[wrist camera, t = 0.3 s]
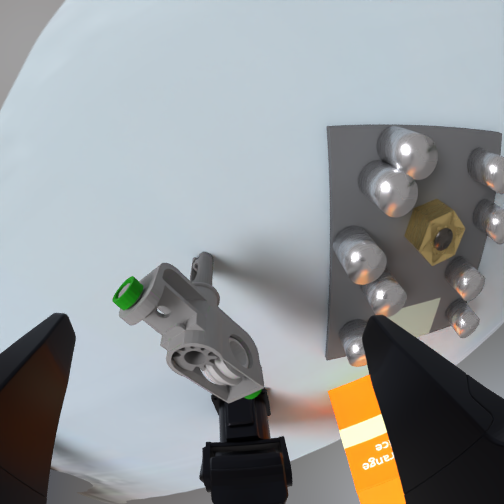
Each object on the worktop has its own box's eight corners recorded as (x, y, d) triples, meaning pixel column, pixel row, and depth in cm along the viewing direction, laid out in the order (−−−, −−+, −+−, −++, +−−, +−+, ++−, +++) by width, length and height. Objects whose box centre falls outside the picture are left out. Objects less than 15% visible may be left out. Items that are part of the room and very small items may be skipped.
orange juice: (327, 390, 34) (366, 535, 17) (391, 364, 33) (450, 500, 16) (337, 413, 38) (370, 533, 21) (393, 390, 37) (439, 505, 20)
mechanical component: (172, 200, 21) (137, 286, 12) (257, 291, 25) (274, 392, 17) (143, 225, 21) (99, 317, 13) (229, 309, 26) (235, 409, 17)
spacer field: (461, 314, 29) (475, 333, 26) (327, 351, 29) (336, 377, 26) (500, 133, 18) (527, 143, 15) (329, 127, 18) (349, 135, 15)
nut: (449, 236, 23) (465, 250, 21) (406, 256, 24) (420, 272, 22) (447, 193, 21) (465, 205, 19) (401, 213, 22) (417, 227, 20)
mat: (456, 319, 31) (458, 322, 30) (325, 356, 30) (326, 360, 30) (497, 132, 19) (501, 133, 18) (326, 126, 19) (329, 127, 18)
